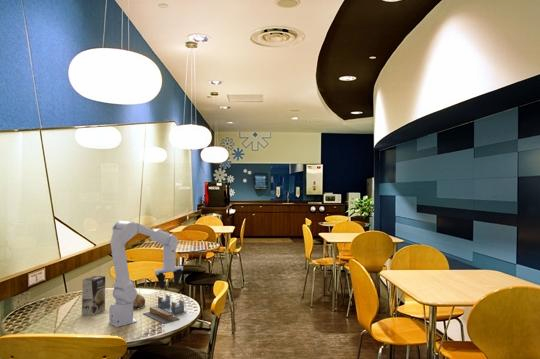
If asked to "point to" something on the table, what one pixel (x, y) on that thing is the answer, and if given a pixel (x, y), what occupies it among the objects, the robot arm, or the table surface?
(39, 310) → the table surface
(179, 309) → the stand
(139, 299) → the bread roll
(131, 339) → the table surface
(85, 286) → the coffee box
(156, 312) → the rail
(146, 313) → the mat
